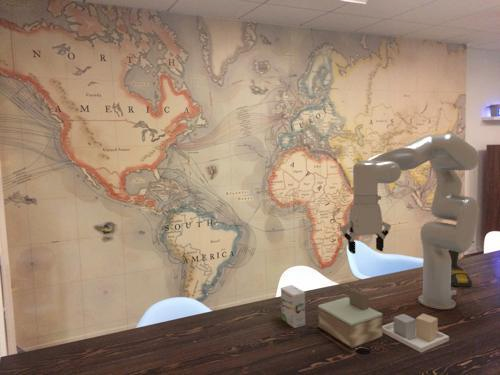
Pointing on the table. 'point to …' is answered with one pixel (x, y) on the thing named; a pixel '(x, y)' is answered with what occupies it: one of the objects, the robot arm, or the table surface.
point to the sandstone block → (426, 327)
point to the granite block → (405, 326)
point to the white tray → (415, 339)
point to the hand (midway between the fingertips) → (366, 251)
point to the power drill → (458, 272)
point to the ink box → (293, 306)
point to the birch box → (350, 329)
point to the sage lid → (351, 308)
